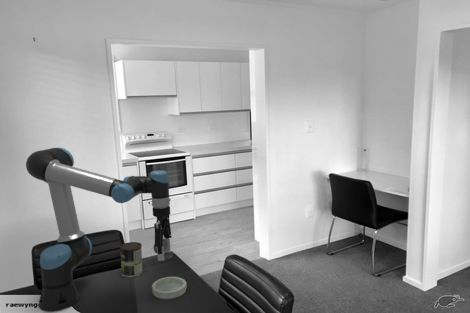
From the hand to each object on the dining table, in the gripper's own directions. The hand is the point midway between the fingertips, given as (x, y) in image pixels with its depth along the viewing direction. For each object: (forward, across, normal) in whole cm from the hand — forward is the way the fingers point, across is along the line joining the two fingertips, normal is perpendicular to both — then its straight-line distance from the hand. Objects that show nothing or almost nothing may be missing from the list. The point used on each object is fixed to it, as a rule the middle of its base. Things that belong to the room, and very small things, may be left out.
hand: (164, 256), depth 163 cm
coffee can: (+16, +16, +23) cm, 32 cm away
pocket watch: (0, 0, 0) cm, 0 cm away
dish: (+16, 0, -1) cm, 16 cm away
